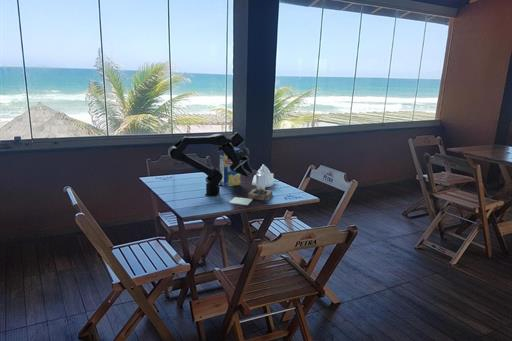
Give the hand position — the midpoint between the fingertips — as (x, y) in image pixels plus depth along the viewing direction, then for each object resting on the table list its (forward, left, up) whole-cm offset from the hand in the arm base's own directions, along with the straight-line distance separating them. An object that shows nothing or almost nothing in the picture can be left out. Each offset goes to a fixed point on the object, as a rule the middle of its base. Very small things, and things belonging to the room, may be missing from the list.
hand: (249, 174), depth 204 cm
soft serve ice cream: (+2, +25, -12) cm, 28 cm away
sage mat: (-1, -12, -12) cm, 17 cm away
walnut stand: (+6, 0, -12) cm, 14 cm away
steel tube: (+6, 0, -12) cm, 14 cm away
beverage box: (-18, +19, -12) cm, 29 cm away
